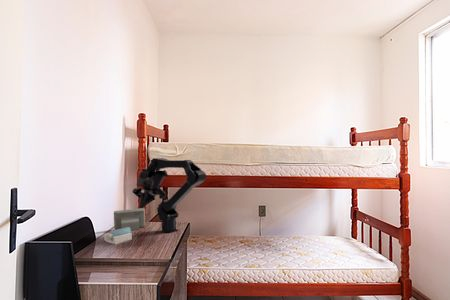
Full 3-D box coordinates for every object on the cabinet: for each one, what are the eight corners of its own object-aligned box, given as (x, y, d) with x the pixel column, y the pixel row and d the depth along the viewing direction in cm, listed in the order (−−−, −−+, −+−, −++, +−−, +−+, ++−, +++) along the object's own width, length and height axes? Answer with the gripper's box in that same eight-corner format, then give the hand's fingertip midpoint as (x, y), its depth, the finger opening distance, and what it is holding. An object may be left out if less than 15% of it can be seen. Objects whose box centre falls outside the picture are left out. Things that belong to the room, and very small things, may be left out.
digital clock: (146, 226, 169) (145, 206, 170) (144, 229, 160) (143, 209, 161) (116, 228, 167) (115, 208, 168) (112, 232, 158) (111, 211, 159)
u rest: (120, 237, 146) (120, 230, 147) (131, 240, 140) (131, 233, 140) (104, 240, 141) (104, 234, 141) (115, 244, 134) (115, 237, 134)
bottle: (125, 227, 146) (106, 231, 139) (130, 227, 143) (111, 231, 136) (126, 236, 146) (107, 241, 139) (131, 237, 142) (112, 241, 135)
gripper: (133, 172, 157) (117, 198, 148) (158, 171, 146) (142, 198, 137) (146, 185, 164) (132, 210, 155) (171, 184, 153) (157, 212, 144)
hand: (140, 207), depth 148 cm, fingers closed
